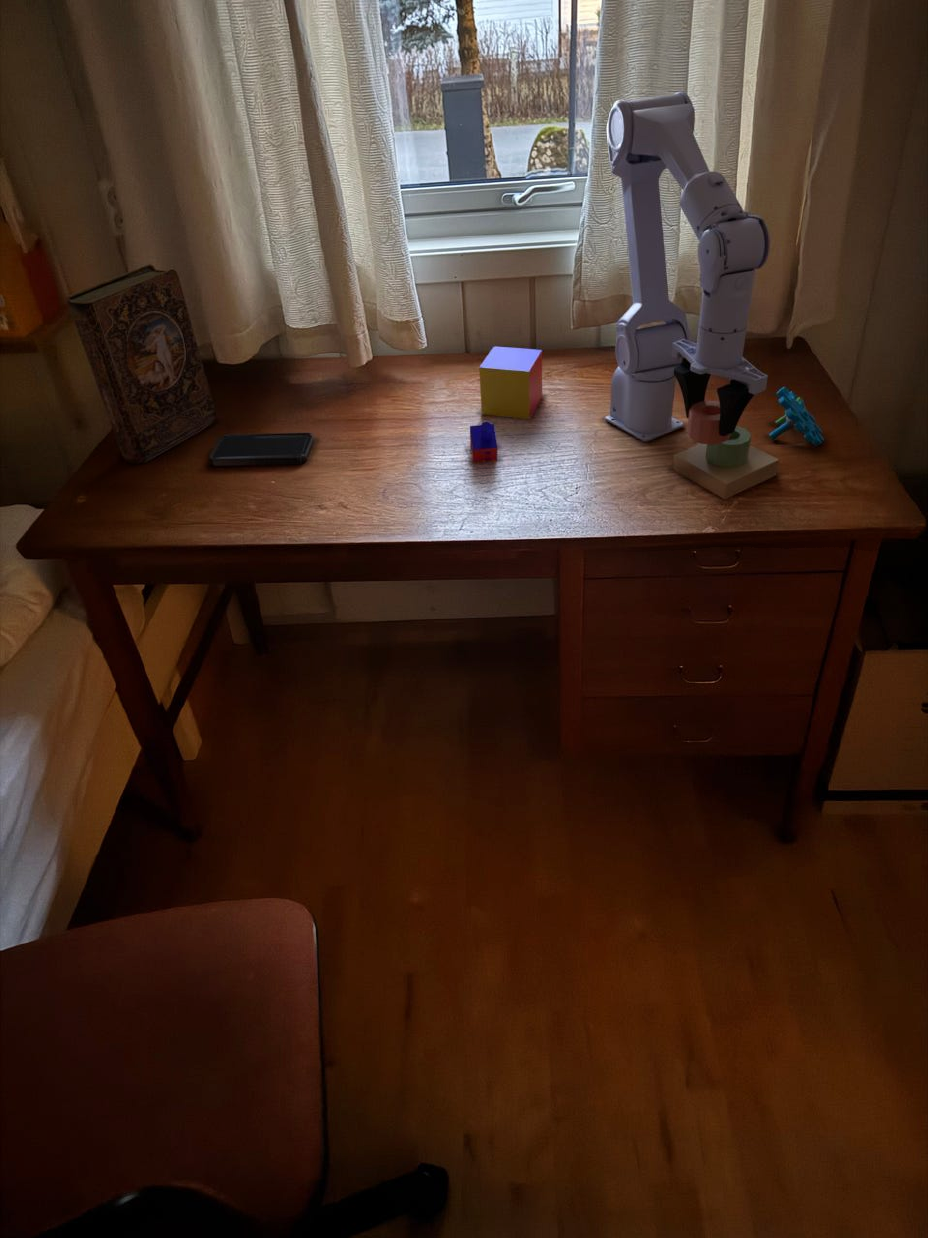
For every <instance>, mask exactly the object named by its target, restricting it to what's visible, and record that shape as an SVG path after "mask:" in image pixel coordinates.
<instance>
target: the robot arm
mask: <svg viewBox="0 0 928 1238" xmlns="http://www.w3.org/2000/svg"><path fill="white" fill-rule="evenodd" d="M695 123H696V111H695V107H694V104H693V101H692V100H691V97H690V96H689V94H688V93H687V92H685V91H677V92H675V93H670V94H669V93H668V94H661V95H654V96H647V97H638V98H632V99H624V98H621V99H617V100H616V101H615V102H614V103H613V105H612V107H611V109H610V111H609V114H608V120H607V123H606V141H607V151H608V159H609V160H608V161H609V164H610V172H611V174H613V175H615V176H616V177H618V178H620V181H621V192H622V201H623V202H622V203H623V213H624V214H623V215H624V223H625V232H626V233H625V234H626V244H627V254H628V263H629V264H628V265H629V274H630V283H631V293H632V294H631V295H632V305H631V306H630V308H628V309H627V311H626V312H625V313H624V314H623V315H622V316H621V317H620V318H619V319H618V321H617V322H616V323H615V324H616V331H615V332H616V339H615V346H614V347H615V348H614V349H615V350H614V351H615V352H614V353H615V358H616V359H615V360H616V363H617V365H618V366H617V368H616V369H615V370H614V372H613V375H612V378H611V382H610V397H609V398H610V399H609V401H610V402H609V403H610V404H609V414H608V415H606V416H605V418H604V420H605V421H606V422H608V423H610V424H612V425H614V426H615V427H617V428H618V429H620V430H622V431H624V432H626V433H628V434H630V435H631V436H633V437H635V438H637V439H638V440H640V441H642V442H645V443H647V442H649V441H652V440H655V439H657V438H659V437H662V436H664V435H666V434H669V433H672V432H674V431H676V430H679V429H681V428H683V427H684V425H685V424H684V422H683V421H680V420H679V419H677V418H674V416H673V411H674V401H675V391H676V381H677V383H678V386H679V388H680V391H681V394H682V398H683V405H684V410H685V416H686V419H689V410H690V408H691V407H692V405H693V404H696V403H698V402H701V401H706V400H705V399H706V394H707V393H706V392H707V389H708V384H709V381H710V378H711V376H717V377H721V378H724V379H726V380H728V381H729V383H727V384H725V385H723V386H720V387H717V388H716V393H717V396H718V402H720V421H719V435H721V436H726V435H728V434H731V433H733V432H734V431H735V428H736V426H738V423H739V421H740V419H741V417H742V415H743V414H744V411H745V409H746V408H747V406H748V405H749V403H750V402H751V400H752V399H753V398H754V396H756V395H758V394H760V393H762V392H765V391H766V389H767V383H768V379H769V375H768V374H765V373H764V372H762V371H761V370H759V369H758V368H757V367H755V366H754V365H753V364H752V363H751V362H749V361H748V360H747V359H746V358H745V357H744V356H743V355H744V349H745V343H746V336H747V329H748V323H749V317H750V316H749V315H750V309H751V304H752V303H751V302H752V296H753V291H754V290H753V289H754V282H755V275H756V270H759V269H761V268H763V266H765V264H766V262H767V260H768V258H769V254H770V248H771V236H770V232H769V228H768V226H767V223H766V220H765V219H764V218H763V217H762V216H761V215H757V214H755V215H753V213H752V212H751V211H746V210H745V211H744V208H743V207H742V205H741V203H740V201H739V200H738V198H737V197H736V195H735V193H734V191H733V189H732V188H731V186H730V184H729V182H728V181H727V179H726V177H725V176H724V175H723V174H722V173H721V172H719V171H712V170H711V171H710V169H709V167H708V164H707V161H706V160H705V157H704V155H703V153H702V151H701V148H700V146H699V144H698V141H697V138H696V137H695V134H694V133H695V127H696V125H695ZM666 169H667V170H668V171H669V173H670V174H671V175H672V177H673V178H674V180H675V182H676V183H677V184H678V185H679V187H680V188H681V190H682V191H681V194H680V198H679V206H680V208H681V210H682V212H683V214H684V216H685V218H686V220H687V222H688V223H689V225H690V226H691V229H692V230H693V232H694V234H695V236H696V238H697V240H698V243H697V250H696V251H697V261H698V265H699V278H698V279H699V280H698V281H699V287H701V288H702V294H701V304H700V313H699V321H698V328H697V329H698V330H697V337H696V342H694V341H693V337H692V333H691V330H690V328H689V323H688V318H687V313H686V311H685V310H684V309H683V308H681V307H679V306H678V305H676V304H675V303H674V302H672V301H671V300H670V296H669V286H668V285H669V284H668V275H667V274H668V273H667V263H666V262H667V260H666V250H665V239H664V238H665V237H664V226H663V214H662V205H661V204H662V203H661V192H660V178H661V176H662V175H663V174H662V173H663V172H664V170H666ZM658 322H659V323H660V322H664V323H662V324H657V325H652V326H647V327H645V326H644V327H641V328H639V327H640V326H643V325H647V324H653V323H658Z"/></svg>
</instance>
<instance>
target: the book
mask: <svg viewBox="0 0 928 1238" xmlns="http://www.w3.org/2000/svg"><path fill="white" fill-rule="evenodd" d="M179 277H180V276H179V275H178V272H177V271H176V270H175V269H172V268H169V269H168V270H167V269H166V270H159V269H156V268H155V266H154V265H153V264H148V263H147V264H145V265H143V266H140V267H138V268H135V269H133V270H130V271H128V272H126V273H123V274H121V275H117V276H115V277H112V278H110V279H108V280H105V281H102V282H100V283H97V284H95V285H92V286H90V287H87V288H85V289H83V290H80V291H77V292H75V293H72V294H69V295H67V296H66V297H65V300H66V304H67V305H68V308H69V311H70V313H71V317H72V319H73V322H74V325H75V328H76V330H77V333H78V336H79V339H80V342H81V345H82V348H83V350H84V352H85V353H84V354H85V356H86V358H87V361H88V364H89V366H90V369H91V372H92V374H93V378H94V380H95V383H96V386H97V389H98V391H99V394H100V397H101V399H102V402H103V405H104V408H105V411H106V414H107V416H108V417H107V418H108V419H109V423H110V425H111V428H112V431H113V433H114V436H115V439H116V442H117V444H118V447H119V451H120V453H121V455H122V458H123V459H124V461H126V462H129V463H131V464H145V463H147V462H148V461H151V460H152V459H154V458H157V456H159V455H161V454H162V453H164V452H166V451H168V450H170V449H171V448H173V447H175V446H177V445H178V444H180V443H182V442H184V441H185V440H187V439H189V438H191V437H193V436H194V435H196V434H199V433H200V432H202V431H203V430H204V429H206V428H208V427H209V426H211V425H213V424H214V423H215V422H216V420H217V413H216V412H217V411H216V408H215V404H214V401H213V397H212V393H211V390H210V386H209V382H208V378H207V375H206V372H205V368H204V364H203V360H202V356H201V353H200V349H199V346H198V343H197V339H196V335H195V331H194V328H193V325H192V320H191V317H190V315H189V314H190V313H189V309H188V306H187V302H186V299H185V295H184V292H183V288H182V285H181V281H180V278H179Z"/></svg>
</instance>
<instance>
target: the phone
mask: <svg viewBox="0 0 928 1238" xmlns="http://www.w3.org/2000/svg"><path fill="white" fill-rule="evenodd" d="M314 443H315V440H314V435H313V433H311V432H280V433H279V432H276V433H240V434H239V433H238V434H237V433H236V434H224V435H221V436H220V437H219V438H218V440H217V442H216V444H215V445H214V447H213V449H212V450H211V452H210V454H209V456H208V458H209V461H210V462H209V463H210V464H211V466H213V467H214V466H215V467H222V466H223V467H226V466H227V467H229V466H274V465H275V466H277V465H280V466H281V465H301V464H304V463H305V462H306V461H307V460H308V458H309V455H310V453H311V451H312V447H313V445H314Z"/></svg>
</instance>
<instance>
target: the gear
mask: <svg viewBox="0 0 928 1238" xmlns="http://www.w3.org/2000/svg"><path fill="white" fill-rule="evenodd" d="M776 396H778V398H779V399H778V403H779V405H780V406H781V407H782V408H783V409H784V410H785V411H784V415H783V416H781V417H780V418H778V419H777V420H776V421H775V424H776V425H777V426H779V425H780V426H779V427H777V428H776V429H774V430H773V431H771V432H770V433H769V434H768V435H769V438H770V439H771V440H773V441H774V440H775V439H777V438H778V437H780V436H781V435H782V434H784V433H786V432H787V431H789V429H790V428H791V429H794V428H795V429H796V431H797V432H798V433H799V434H800V433H802V432H803V433H804V435H803V437H804V439H805V440H806V442H808V443H809V444H810V443H812V444H813V446H815V447H819V446H821V445H822V444H823V443H822V442H824V441H825V438H824V436H822V434H821V433H822V430H821V429H822V428H821V427H820V426H818V425H817V423H815V422H816V419H815V417H814V415H813V414H812V413H809V411H808V409H807V407H806V405H805V401H804V400H803V397H801V396H798V397H797V395H796V394H795V393H794V392H793V391H792V390H791V391H789V389H788V387H786V386H783V387H781V388H780V389H778V391H776Z"/></svg>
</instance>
